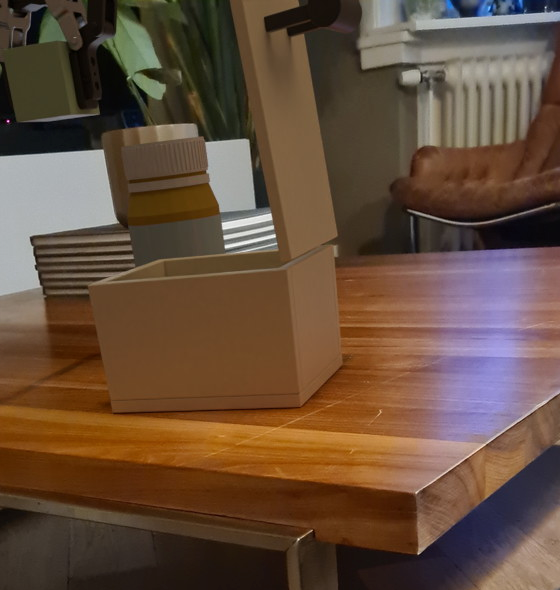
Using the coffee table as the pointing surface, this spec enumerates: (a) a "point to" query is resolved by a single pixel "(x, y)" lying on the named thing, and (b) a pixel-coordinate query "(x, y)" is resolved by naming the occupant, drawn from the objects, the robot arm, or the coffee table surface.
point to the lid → (290, 112)
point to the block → (42, 82)
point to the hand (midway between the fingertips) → (57, 112)
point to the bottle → (171, 201)
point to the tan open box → (219, 331)
